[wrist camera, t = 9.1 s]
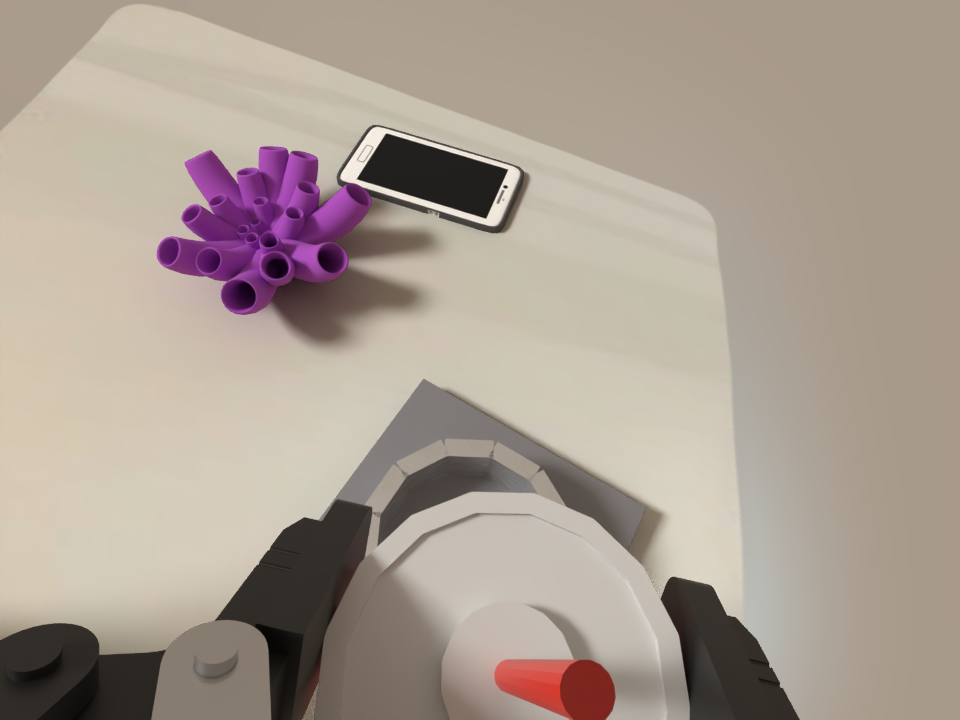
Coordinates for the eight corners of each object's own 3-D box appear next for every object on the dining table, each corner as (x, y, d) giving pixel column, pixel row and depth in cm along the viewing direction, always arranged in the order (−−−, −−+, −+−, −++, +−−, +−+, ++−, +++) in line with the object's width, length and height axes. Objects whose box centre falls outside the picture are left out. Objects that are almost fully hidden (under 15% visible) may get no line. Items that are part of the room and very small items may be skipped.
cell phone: (371, 130, 50) (370, 121, 49) (525, 176, 48) (527, 168, 48) (333, 187, 46) (332, 178, 45) (499, 239, 45) (500, 230, 44)
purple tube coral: (324, 221, 48) (384, 157, 42) (288, 371, 41) (353, 322, 34) (190, 147, 42) (235, 59, 35) (118, 310, 35) (159, 236, 28)
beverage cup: (493, 526, 19) (622, 281, 7) (606, 699, 17) (1108, 809, 4) (330, 636, 17) (82, 577, 5) (435, 849, 15) (491, 1809, 2)
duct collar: (323, 589, 29) (310, 580, 26) (434, 427, 34) (435, 404, 31) (499, 711, 27) (508, 718, 24) (591, 521, 32) (608, 506, 29)
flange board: (262, 608, 30) (254, 606, 29) (423, 388, 37) (423, 378, 36) (515, 791, 27) (519, 798, 26) (638, 513, 34) (646, 507, 33)
